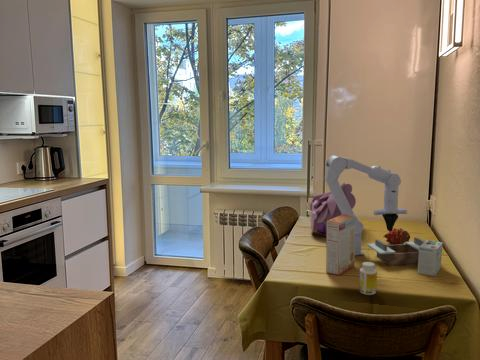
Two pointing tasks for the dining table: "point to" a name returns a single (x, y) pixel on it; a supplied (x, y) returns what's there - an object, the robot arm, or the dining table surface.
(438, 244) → the light bulb box
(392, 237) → the dragon fruit
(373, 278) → the supplement bottle
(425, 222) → the dining table surface
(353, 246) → the cracker box
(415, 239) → the lid right
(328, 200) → the purple cloth
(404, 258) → the walnut box
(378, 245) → the lid left
